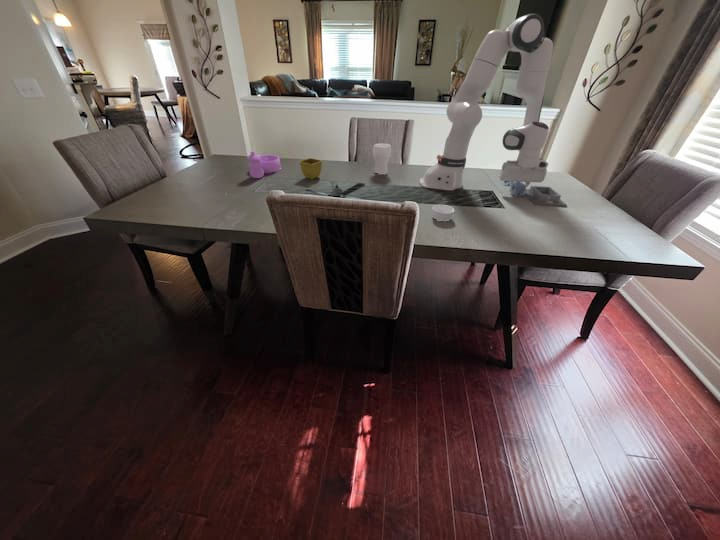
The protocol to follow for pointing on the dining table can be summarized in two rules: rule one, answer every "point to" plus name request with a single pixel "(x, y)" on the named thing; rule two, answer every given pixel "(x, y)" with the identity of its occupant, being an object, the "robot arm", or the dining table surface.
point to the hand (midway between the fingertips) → (516, 189)
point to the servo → (518, 188)
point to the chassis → (544, 196)
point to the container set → (263, 164)
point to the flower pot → (311, 168)
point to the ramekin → (442, 212)
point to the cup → (381, 157)
